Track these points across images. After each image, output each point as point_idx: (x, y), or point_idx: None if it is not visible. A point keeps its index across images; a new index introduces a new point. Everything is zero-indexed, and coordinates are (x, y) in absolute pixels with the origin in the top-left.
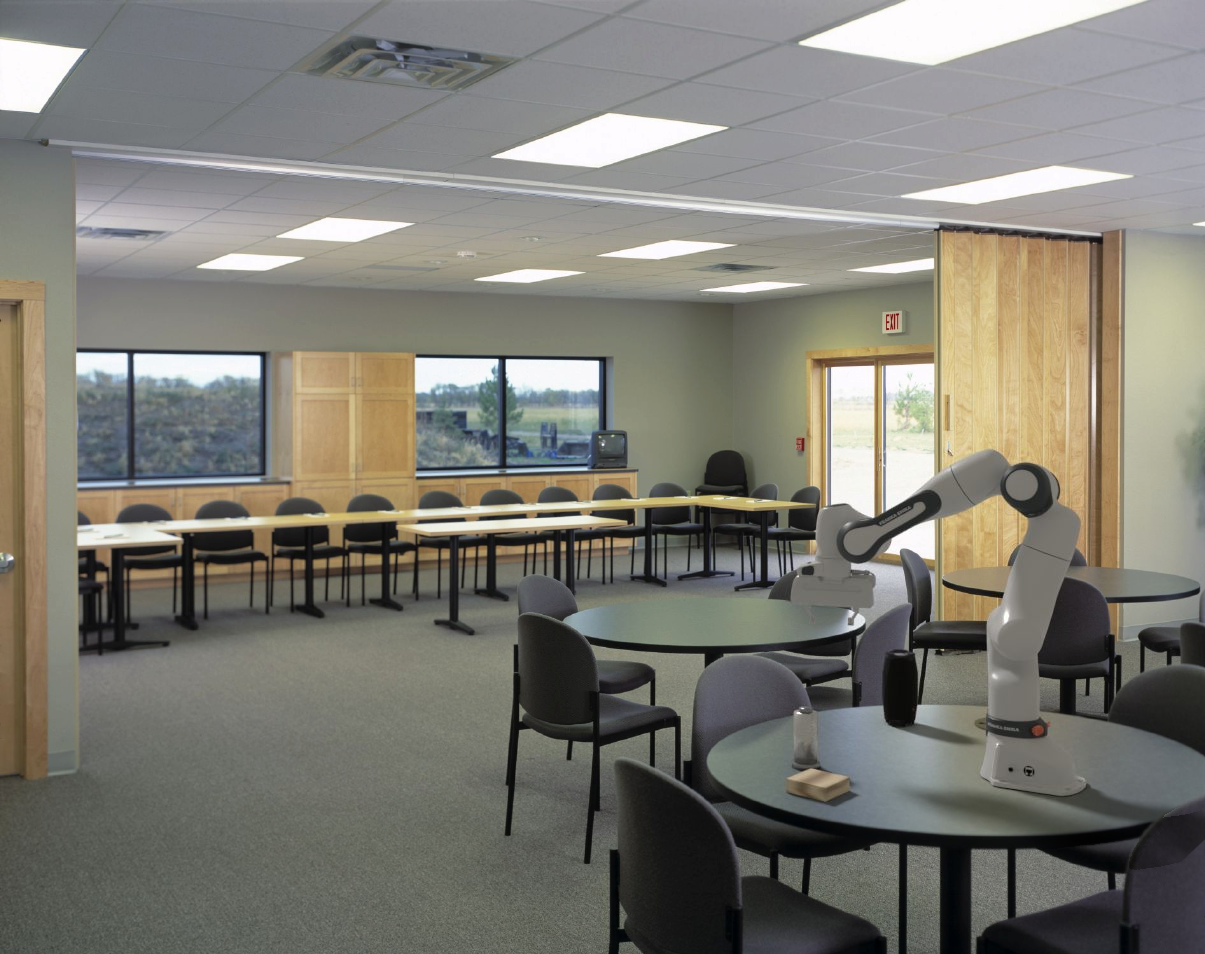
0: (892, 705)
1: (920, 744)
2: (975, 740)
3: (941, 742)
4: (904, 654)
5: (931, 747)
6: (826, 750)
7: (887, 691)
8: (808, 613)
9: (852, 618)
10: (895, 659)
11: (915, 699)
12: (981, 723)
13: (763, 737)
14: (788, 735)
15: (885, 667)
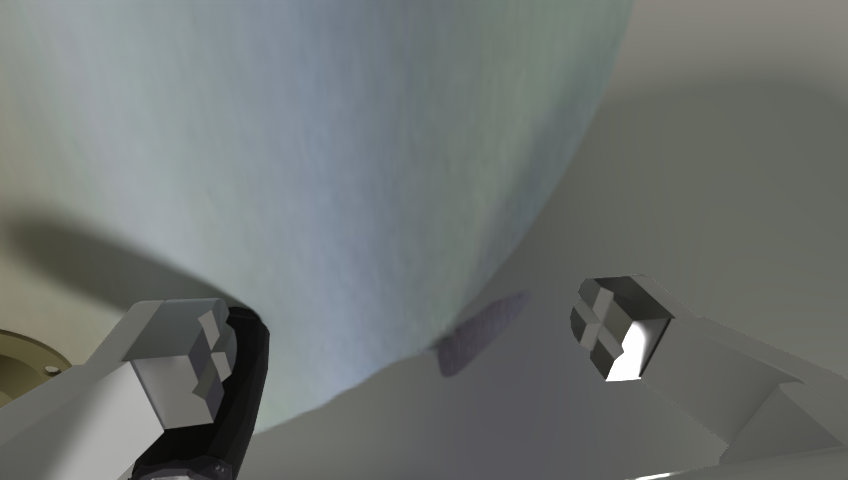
0: (236, 339)
1: (141, 186)
2: (11, 254)
3: (92, 216)
4: None
5: (101, 164)
6: (372, 73)
7: (242, 368)
8: (734, 336)
9: (106, 364)
10: (187, 454)
11: None
12: (57, 374)
13: (520, 159)
14: (465, 187)
15: (235, 431)
